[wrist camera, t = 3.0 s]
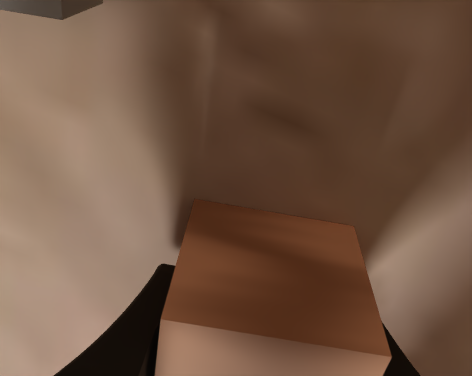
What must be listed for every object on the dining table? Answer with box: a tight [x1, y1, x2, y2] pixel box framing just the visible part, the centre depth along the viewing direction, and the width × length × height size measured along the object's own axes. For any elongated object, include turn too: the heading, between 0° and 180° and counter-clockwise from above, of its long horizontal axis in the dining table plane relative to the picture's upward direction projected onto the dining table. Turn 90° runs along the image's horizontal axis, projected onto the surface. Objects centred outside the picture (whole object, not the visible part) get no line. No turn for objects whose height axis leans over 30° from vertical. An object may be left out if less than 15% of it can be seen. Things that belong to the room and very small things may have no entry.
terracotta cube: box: [155, 199, 392, 376], centre depth 13 cm, size 5×5×5 cm
